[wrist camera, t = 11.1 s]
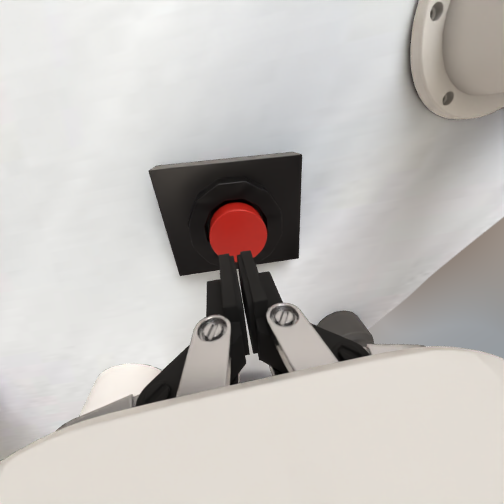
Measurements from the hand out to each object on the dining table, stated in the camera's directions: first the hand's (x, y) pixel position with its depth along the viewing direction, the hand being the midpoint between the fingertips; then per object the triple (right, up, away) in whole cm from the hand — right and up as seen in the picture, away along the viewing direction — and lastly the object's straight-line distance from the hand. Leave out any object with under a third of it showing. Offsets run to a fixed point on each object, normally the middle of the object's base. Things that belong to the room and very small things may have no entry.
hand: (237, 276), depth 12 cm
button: (0, +3, +5) cm, 6 cm away
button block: (-1, +5, +8) cm, 9 cm away
